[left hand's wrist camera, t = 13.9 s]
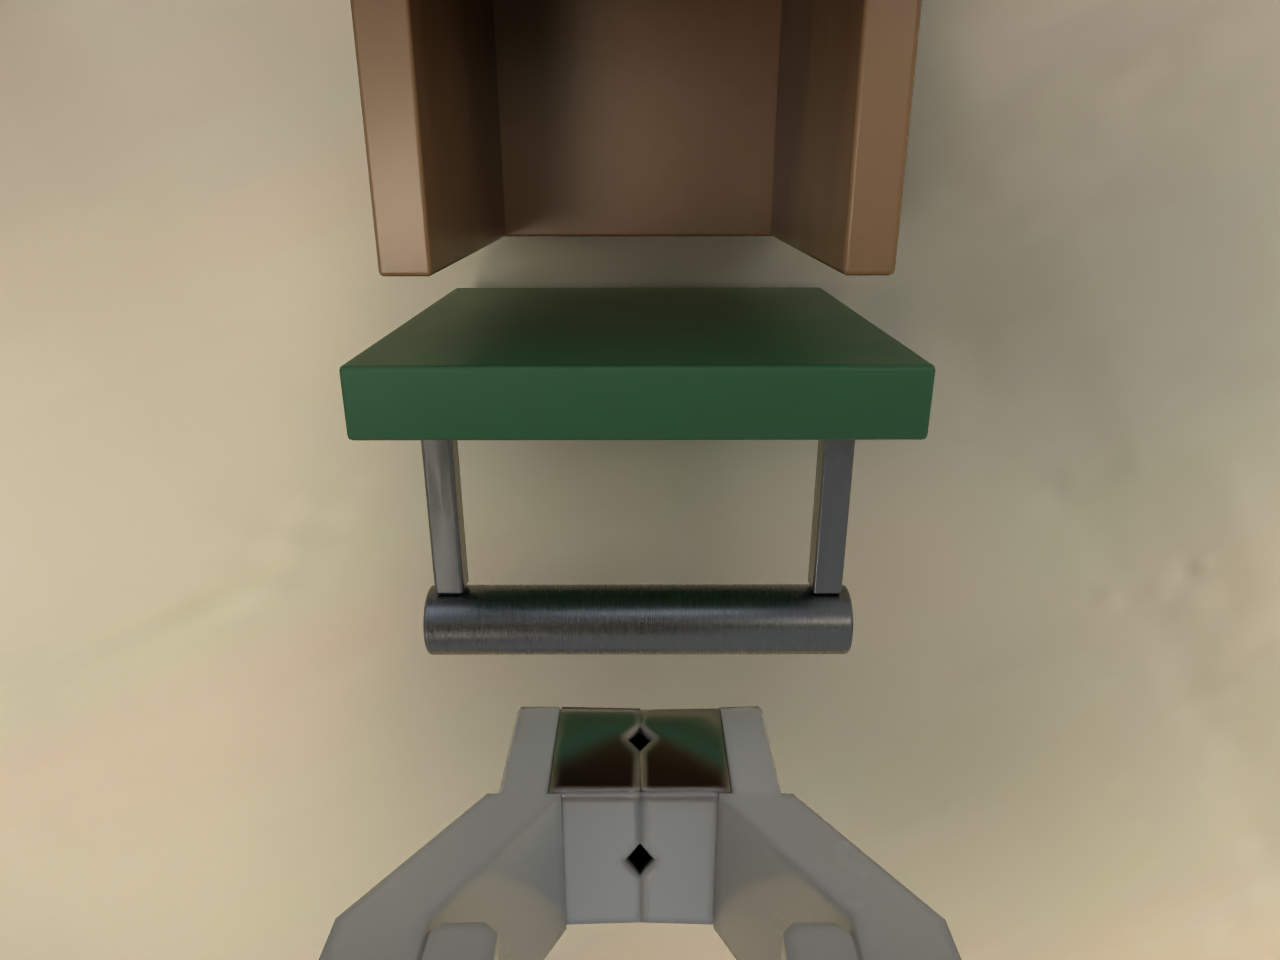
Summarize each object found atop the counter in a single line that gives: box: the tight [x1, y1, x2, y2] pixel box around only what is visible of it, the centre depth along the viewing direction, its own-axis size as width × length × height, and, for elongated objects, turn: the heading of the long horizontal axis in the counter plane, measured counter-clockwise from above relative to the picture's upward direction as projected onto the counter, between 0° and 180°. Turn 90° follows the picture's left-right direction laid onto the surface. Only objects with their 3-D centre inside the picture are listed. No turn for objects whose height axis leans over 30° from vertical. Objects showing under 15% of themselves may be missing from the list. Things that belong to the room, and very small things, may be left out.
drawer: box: [339, 0, 935, 655], centre depth 16 cm, size 18×9×9 cm, turn 0°
